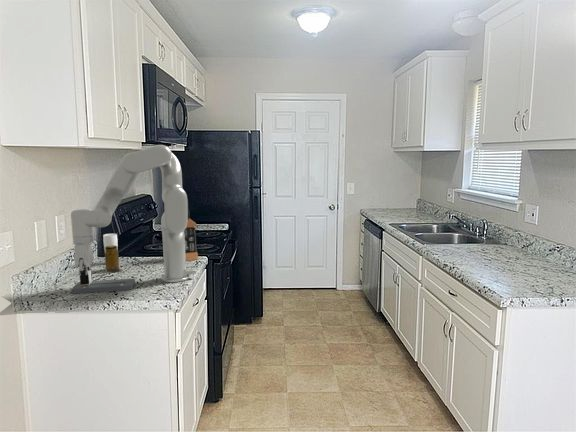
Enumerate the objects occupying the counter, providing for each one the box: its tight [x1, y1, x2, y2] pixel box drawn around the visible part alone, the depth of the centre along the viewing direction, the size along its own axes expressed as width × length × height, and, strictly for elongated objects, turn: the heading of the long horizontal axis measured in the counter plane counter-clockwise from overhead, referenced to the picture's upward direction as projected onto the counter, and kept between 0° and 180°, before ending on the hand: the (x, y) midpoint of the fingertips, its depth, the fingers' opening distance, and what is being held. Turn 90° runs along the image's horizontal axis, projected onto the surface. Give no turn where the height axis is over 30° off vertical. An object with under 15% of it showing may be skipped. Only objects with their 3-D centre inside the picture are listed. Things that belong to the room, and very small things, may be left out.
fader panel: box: [70, 278, 136, 295], centre depth 176 cm, size 23×10×2 cm, turn 102°
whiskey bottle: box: [184, 199, 199, 261], centre depth 224 cm, size 10×10×32 cm
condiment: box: [103, 245, 126, 273], centre depth 203 cm, size 7×8×12 cm
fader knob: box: [81, 270, 93, 286], centre depth 174 cm, size 3×4×5 cm
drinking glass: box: [102, 233, 119, 253], centre depth 216 cm, size 7×7×15 cm
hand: (86, 281), depth 174 cm, fingers closed on fader knob, 4 cm apart
